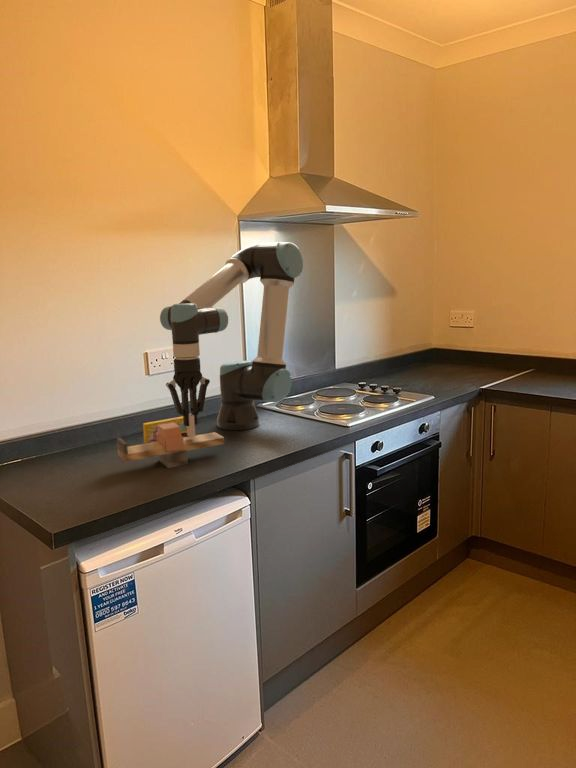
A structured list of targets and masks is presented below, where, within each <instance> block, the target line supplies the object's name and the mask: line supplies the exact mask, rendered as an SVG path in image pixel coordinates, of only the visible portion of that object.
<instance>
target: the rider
mask: <svg viewBox="0 0 576 768" xmlns="http://www.w3.org/2000/svg"><path fill="white" fill-rule="evenodd" d="M157 427H158V432H156V435H157V442H160V443H161V444H163V445H164V446H166V451H167V452H169V451H175V450H181V449H184V442H183V436H181V427H180V426H179V425H177V424H175V423H174V422H173V423H167V424H160V425H157Z"/></svg>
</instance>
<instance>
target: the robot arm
mask: <svg viewBox="0 0 576 768" xmlns="http://www.w3.org/2000/svg"><path fill="white" fill-rule="evenodd" d="M303 268H304V260H303V256H302V253H301V250H300V249H299V247H298V246H297V245H296V244H295V243H293V242H291V241H289V242H287V241H275V242H256V243H253V244H250V245H247V246H246V247H244V248H243V249H240V250H239V251H237V252H236V253H235V254H233V255H232V256H231V257H229V258H228V259H227V260H226V261H225V264H224V267H223V266H222V268H221V269H219V270H218V271H217V272H216V273H214V274H213V275H212V276H211V277H210V278H208V279H207V280H206V281H205V282H204V283H202V285H200V286H199V287H198V288H196V289H195V290H193V292H192V293H190V294H189V295H188V296H186V297H185V298H184V299H183V300H182V301H180V302H179V303H175V304H172V305H170V306H166V307H164V308H162V310H161V312H160V315H159V322H160V324H161V326H162V328H164V329H165V330H167V331H171V336H172V337H171V339H172V351H173V352H172V353H173V354H172V355H173V358H174V359H173V369H174V371H173V373H174V375H173V376H172V377H173V379H172V380H171V381H169V382H166V384H165V386H166V387H167V389H168V391H169V393H170V395H171V398H172V401H173V405H174V408H175V412H176V413H177V414H178V415H181V416H183V420H184V425H185V426H187V435H188V436H189V437H195V435H196V427H195V426H197V425H198V415H199V413H201V412H203V411H204V406H205V400H206V395H207V394H206V393H207V387H208V386H209V384H210V382H211V380H210V379H209V378H207V377H204V376H203V373H202V372H201V358H200V357H199V356H200V335H207V334H212V333H213V334H214V333H215V334H218V333H219V332H223V331H224V330H225V329H227V327H228V325H229V316H228V312H227V311H226V310H225V309H224V308H223V307H221V306H220V307H219V306H218V307H217V306H215V305H216V304H217V303H218V302H220V300H223V298H224V297H226V295H228V294H229V293H230V292H232V291H233V289H235V288H236V287H237V286H238V285H239V284H245V283H246V282H248V281H249V280H252V279H254V278H255V279H256V278H259V279H260V280H259V282H260V283H261V284H262V285H263V292H262V293H263V294H262V302H261V303H262V305H261V315H260V324H259V333H258V334H259V335H258V345H257V355H256V357H255V358H254V359H253V360H237V361H230V362H225V363H223V364H222V365H221V366H220V367H219V384H220V385H219V386H220V387H219V388H220V389H219V390H220V403H221V404H220V408H219V412H218V415H217V419H216V424H217V425H216V426H217V428H219V429H222V430H224V431H225V430H227V431H243V430H250V429H254V428H256V427H258V426H259V425H260V418H259V415H258V412H257V409H256V405H255V402H254V400H255V401H260V402H261V401H262V402H265V403H280V402H281V401H283V400H284V399H285V398H286V397H287V396H288V394H289V393H290V390H291V388H292V383H293V382H292V376H291V372H290V371H289V370H288V369H287V363H286V361H285V360H284V358H283V355H284V344H285V333H286V323H287V313H288V306H289V305H288V301H289V293H290V288H291V287H293V286H294V285H295V280H296V279H297V278H298V277H299V276H300V275H301V273H302V272H303ZM295 278H296V279H295ZM199 384H200V385H199ZM198 385H199V390H198V388H197V387H198ZM177 386H178V387H179V388H180V389H179V390H180V394H181V396H180V397H181V400H180V398H179V394H178V391H177V389H176V388H177ZM197 390H198V391H197ZM197 392H198V395H197ZM180 401H181V402H180ZM189 404H190V405H189Z"/></svg>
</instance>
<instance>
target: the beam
mask: <svg viewBox="0 0 576 768" xmlns="http://www.w3.org/2000/svg"><path fill="white" fill-rule="evenodd" d="M183 442H184V449H181V450H175V451H169V452H167V451H166V446H164V445H163V444H161V443H160V442H153V443H147V444H144V443H142V444H135V445H129V446H128V443H127V442H126V441H125V440H124V439H122V438H121V437H117V438H116V444H117V455H118V457H120V458H121V460H122V461H123V462H124V463H125V462H130V461H136V460H142V459H147V458H153V457H158V459H159V462H160V463H162V464H163V465H164V466H165V467H166V468H168V469H170V468H175V467H182V466H186V465H189V461H188V460H189V459H188V451H194V450H197V449H203V448H204V449H205V448H209V447H216V446H221V445H224V444H225V443H226V442H225V437H224V436H223V435H221V434H219V433H217V432H215V431H213V432H209V433H207V432H206V433H202V434H197V435H196V434H195V437H183Z"/></svg>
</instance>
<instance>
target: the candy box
mask: <svg viewBox="0 0 576 768" xmlns="http://www.w3.org/2000/svg"><path fill="white" fill-rule="evenodd" d="M173 422H174V423H175V424H177V425H179V426H180V427H181V436H183V437H189V436H188V435H187V426H185V425H184V420H183V415H181V416H178V417H172V418H166V419H160V420H155V421H149V422H144V423H142V429H143V444H147V443H153V442H157V435H156V432H158V427H157V425H160V424H167V423H173Z"/></svg>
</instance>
